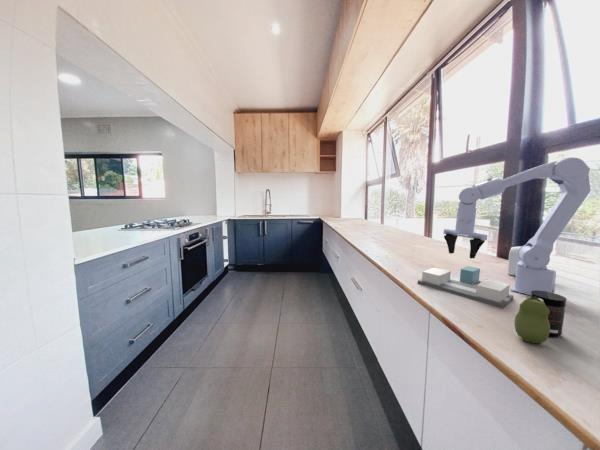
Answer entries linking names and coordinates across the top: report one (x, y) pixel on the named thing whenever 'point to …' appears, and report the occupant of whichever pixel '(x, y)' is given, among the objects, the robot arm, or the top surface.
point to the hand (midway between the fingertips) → (461, 255)
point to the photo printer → (513, 260)
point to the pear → (533, 320)
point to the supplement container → (553, 310)
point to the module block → (469, 275)
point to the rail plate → (468, 287)
